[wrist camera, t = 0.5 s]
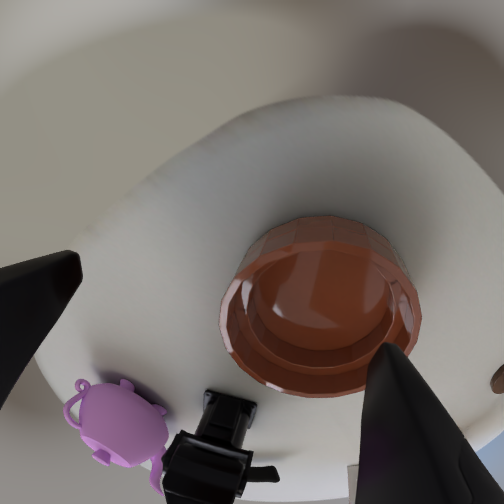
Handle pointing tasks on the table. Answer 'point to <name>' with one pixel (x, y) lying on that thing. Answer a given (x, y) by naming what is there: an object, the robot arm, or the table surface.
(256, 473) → the knife
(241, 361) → the bowl
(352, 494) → the grater
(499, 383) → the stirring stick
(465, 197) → the table surface
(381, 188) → the table surface
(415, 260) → the table surface
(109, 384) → the teapot
